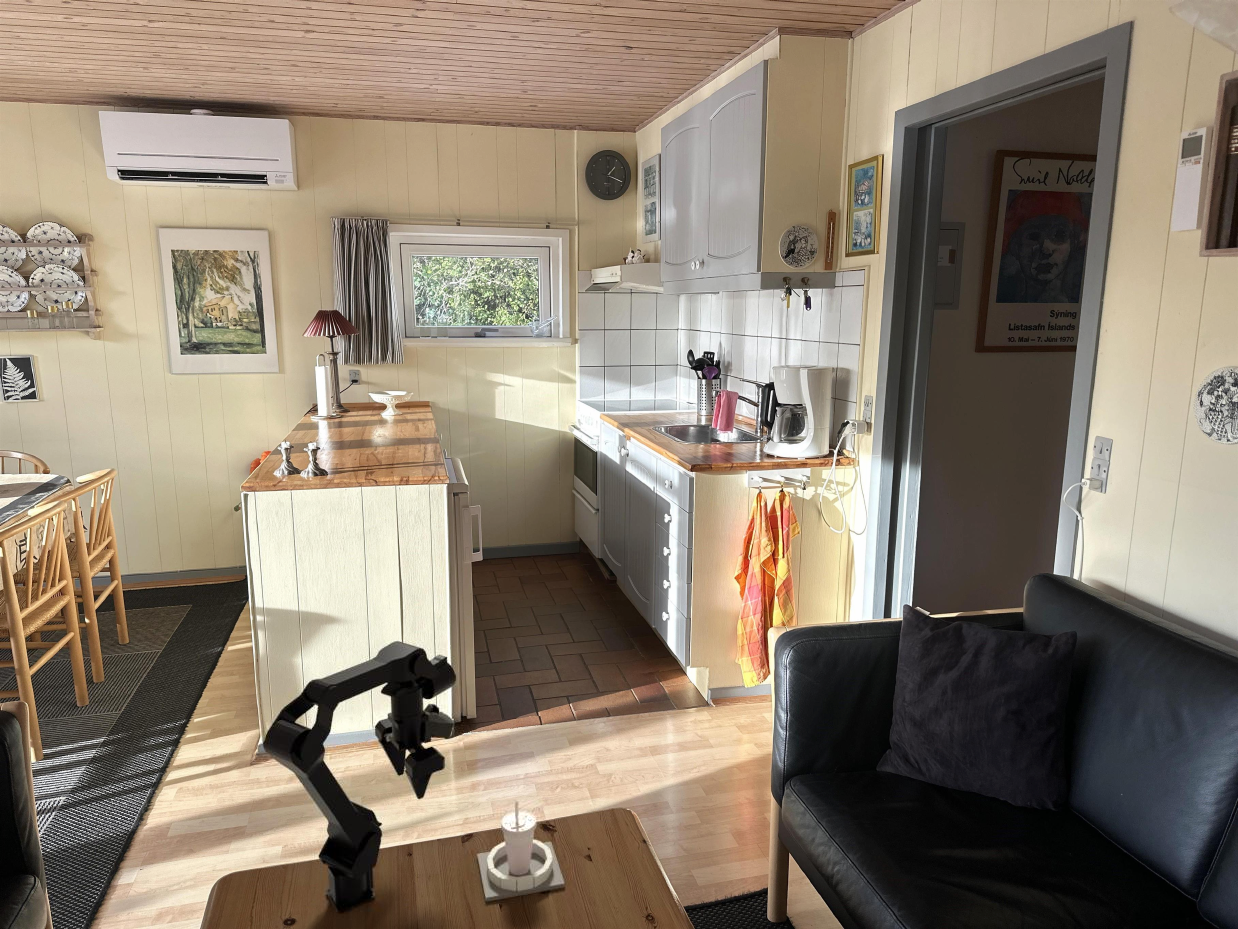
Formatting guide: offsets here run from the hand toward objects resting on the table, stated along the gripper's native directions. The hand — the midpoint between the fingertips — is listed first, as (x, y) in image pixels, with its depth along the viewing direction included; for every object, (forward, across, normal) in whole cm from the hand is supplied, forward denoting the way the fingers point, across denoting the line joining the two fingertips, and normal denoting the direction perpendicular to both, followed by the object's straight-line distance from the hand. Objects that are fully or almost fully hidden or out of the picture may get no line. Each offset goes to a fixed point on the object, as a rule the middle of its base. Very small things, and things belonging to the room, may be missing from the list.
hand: (410, 786), depth 160 cm
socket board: (+13, -18, -13) cm, 26 cm away
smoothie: (+12, -18, -13) cm, 25 cm away
